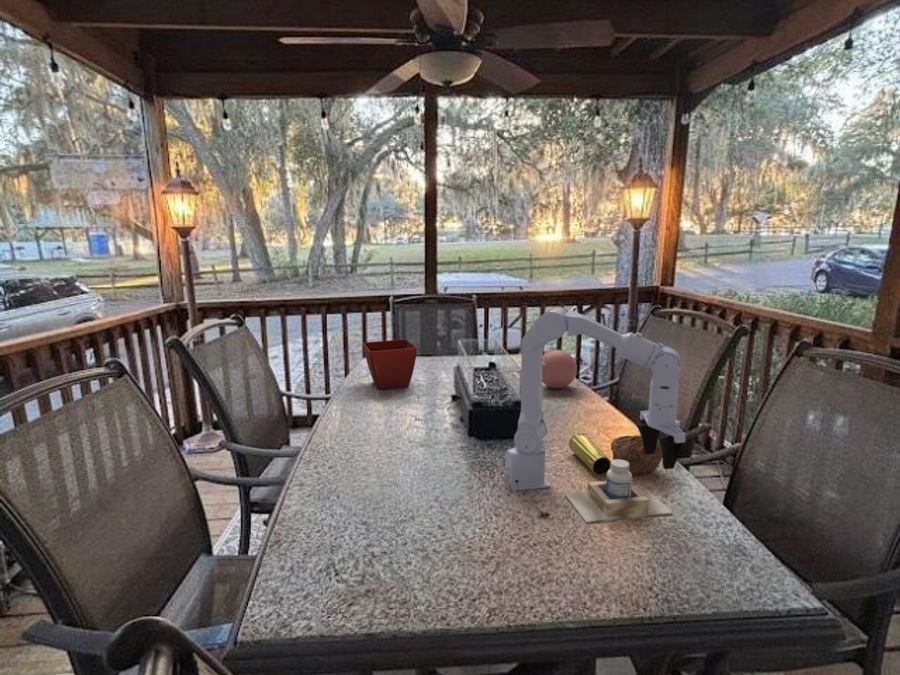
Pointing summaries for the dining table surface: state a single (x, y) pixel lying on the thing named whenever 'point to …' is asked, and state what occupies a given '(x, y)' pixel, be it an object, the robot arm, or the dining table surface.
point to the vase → (589, 454)
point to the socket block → (615, 504)
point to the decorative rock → (636, 454)
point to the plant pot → (390, 362)
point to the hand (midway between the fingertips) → (658, 460)
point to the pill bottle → (619, 480)
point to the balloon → (558, 369)
